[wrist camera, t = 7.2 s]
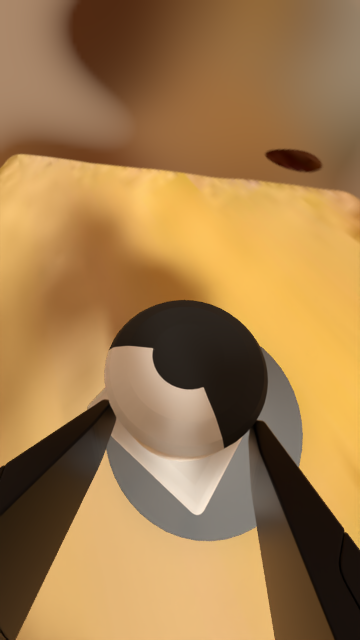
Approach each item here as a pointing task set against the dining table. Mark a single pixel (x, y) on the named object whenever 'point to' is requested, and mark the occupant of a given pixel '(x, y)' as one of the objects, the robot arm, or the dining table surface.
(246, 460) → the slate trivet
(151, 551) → the dining table surface
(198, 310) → the medicine bottle
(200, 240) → the dining table surface
